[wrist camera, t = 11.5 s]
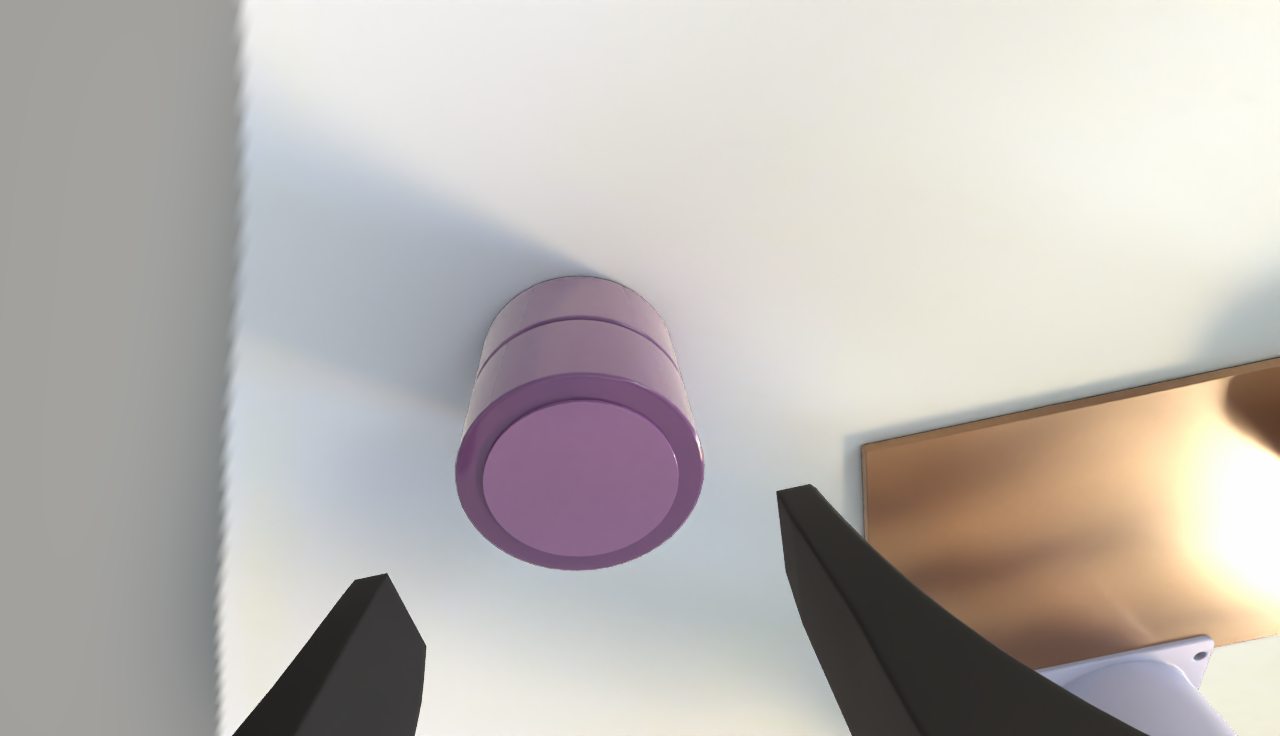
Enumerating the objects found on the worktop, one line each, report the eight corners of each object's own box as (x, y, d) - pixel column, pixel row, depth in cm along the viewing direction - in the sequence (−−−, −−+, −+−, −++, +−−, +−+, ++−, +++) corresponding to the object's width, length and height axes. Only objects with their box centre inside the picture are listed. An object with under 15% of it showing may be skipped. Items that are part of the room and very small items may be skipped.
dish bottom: (687, 421, 21) (701, 476, 18) (513, 457, 21) (506, 518, 18) (655, 255, 18) (667, 295, 16) (456, 299, 18) (439, 345, 16)
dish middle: (701, 476, 18) (721, 548, 16) (506, 518, 18) (497, 595, 16) (667, 295, 16) (684, 350, 13) (439, 345, 16) (415, 408, 13)
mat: (1391, 602, 28) (1402, 610, 28) (870, 708, 29) (874, 717, 28) (1551, 299, 21) (1567, 304, 21) (861, 445, 22) (865, 452, 21)
